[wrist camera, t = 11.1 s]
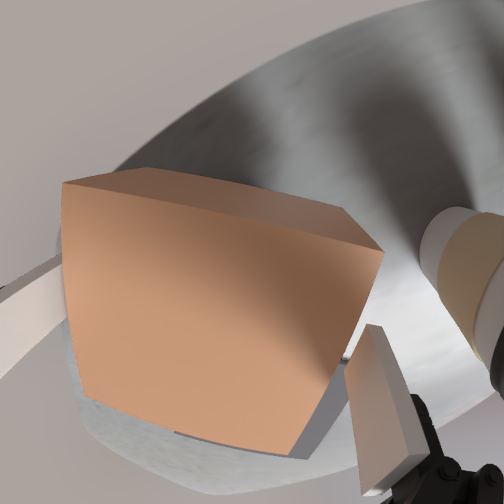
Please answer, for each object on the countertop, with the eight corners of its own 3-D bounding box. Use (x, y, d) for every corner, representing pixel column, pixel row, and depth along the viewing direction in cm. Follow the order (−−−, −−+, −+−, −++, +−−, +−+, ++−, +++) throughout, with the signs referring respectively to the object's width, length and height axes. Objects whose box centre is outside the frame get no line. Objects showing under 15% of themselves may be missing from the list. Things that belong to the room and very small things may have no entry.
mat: (366, 363, 24) (367, 367, 24) (307, 456, 30) (307, 459, 30) (183, 325, 25) (181, 328, 24) (175, 429, 31) (174, 432, 30)
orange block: (342, 207, 14) (384, 252, 8) (290, 366, 18) (287, 455, 12) (147, 166, 15) (62, 182, 8) (136, 327, 18) (84, 395, 12)
